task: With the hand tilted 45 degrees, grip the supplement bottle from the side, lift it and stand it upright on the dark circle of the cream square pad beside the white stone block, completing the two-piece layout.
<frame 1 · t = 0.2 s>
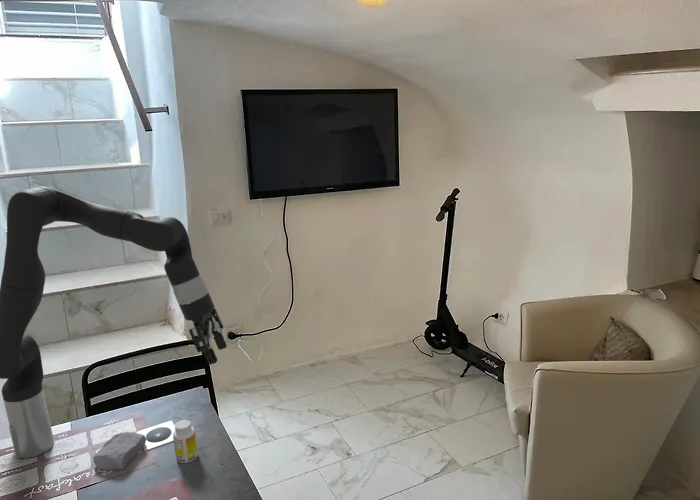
hand: (218, 355, 133), 30 cm above the table, tool tilted 20°, fingers open, 8 cm apart
cream square pad: (158, 435, 152), on the table
stone block: (119, 455, 144), on the table, touching cream square pad
supplement bottle: (187, 457, 143), on the table
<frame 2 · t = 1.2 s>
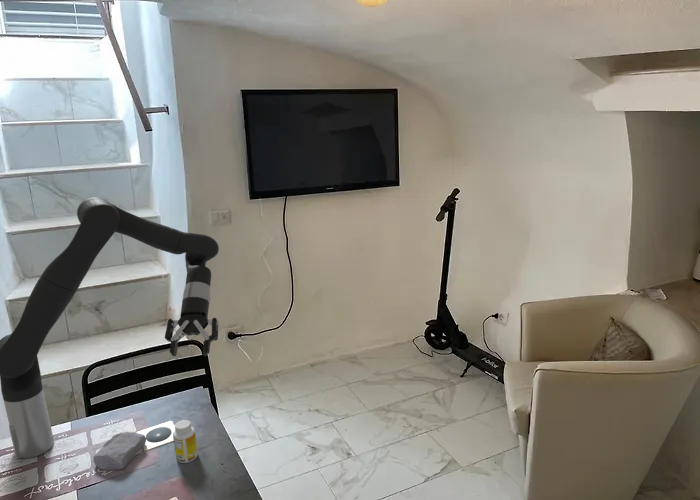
hand: (189, 355, 147), 24 cm above the table, tool tilted 45°, fingers open, 8 cm apart
nothing on the table moved.
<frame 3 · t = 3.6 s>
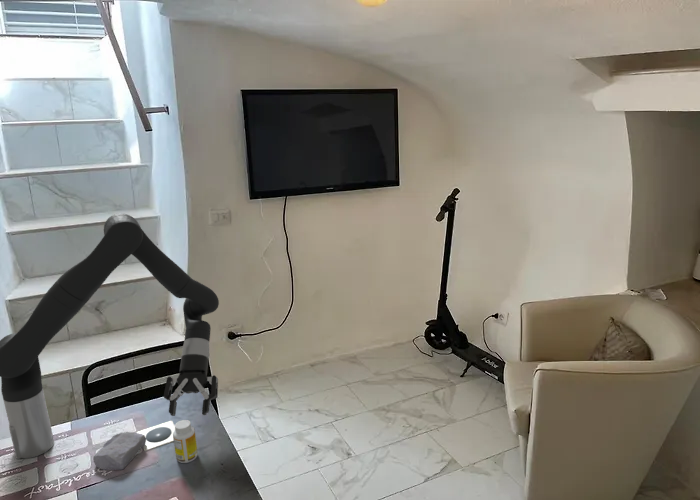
hand: (188, 415, 145), 10 cm above the table, tool tilted 45°, fingers open, 8 cm apart
nothing on the table moved.
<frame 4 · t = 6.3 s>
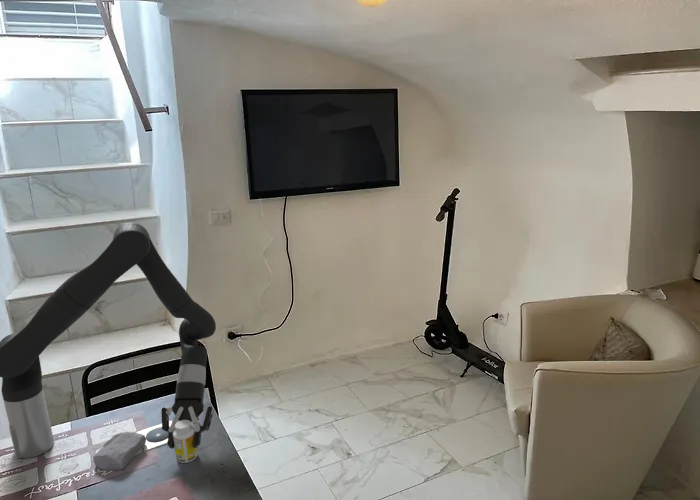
hand: (183, 447, 140), 4 cm above the table, tool tilted 45°, fingers closed on supplement bottle, 5 cm apart
supplement bottle: (187, 457, 143), on the table, touching gripper
everything else where it was.
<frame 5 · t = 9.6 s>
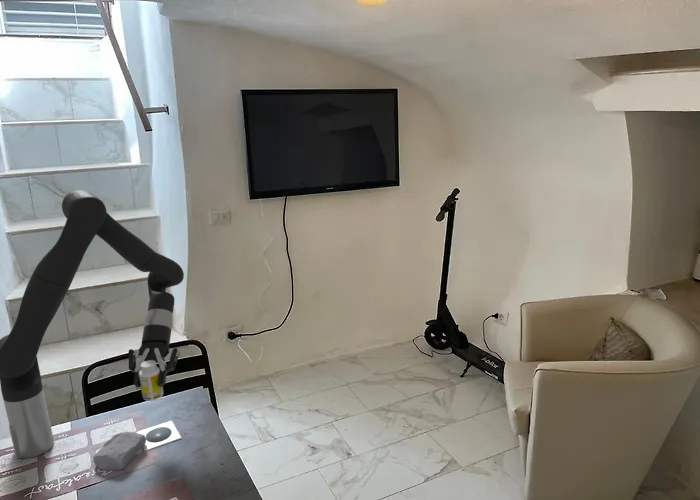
hand: (149, 386, 146), 17 cm above the table, tool tilted 45°, fingers closed on supplement bottle, 5 cm apart
supplement bottle: (153, 397, 149), point 12 cm above the table, touching gripper
everything else where it was.
when the fingers open (5 cm above the table, at t = 13.0 s): supplement bottle stays where it is, resting on cream square pad.
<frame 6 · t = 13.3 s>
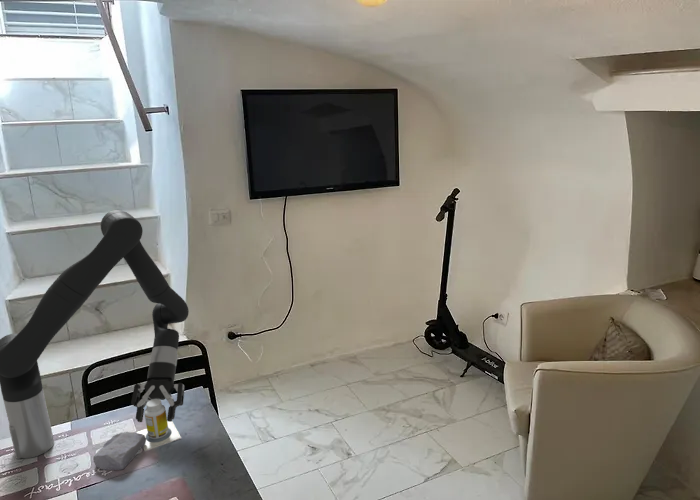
hand: (154, 421, 149), 6 cm above the table, tool tilted 45°, fingers open, 8 cm apart
supplement bottle: (158, 434, 152), resting on cream square pad
everything else where it was.
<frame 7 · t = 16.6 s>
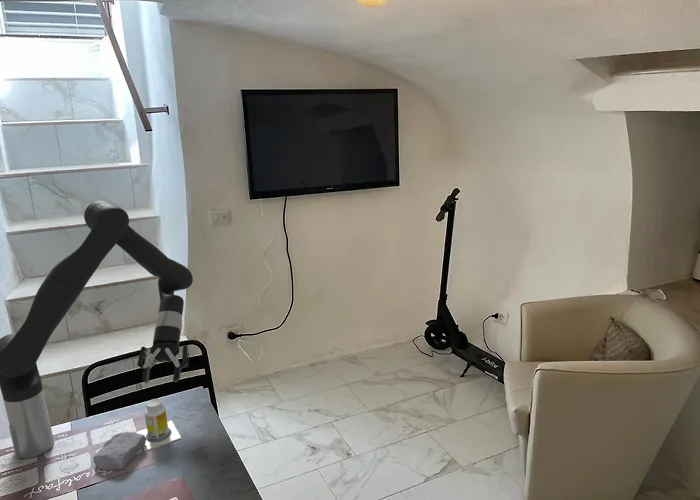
hand: (160, 381, 154), 13 cm above the table, tool tilted 45°, fingers open, 8 cm apart
nothing on the table moved.
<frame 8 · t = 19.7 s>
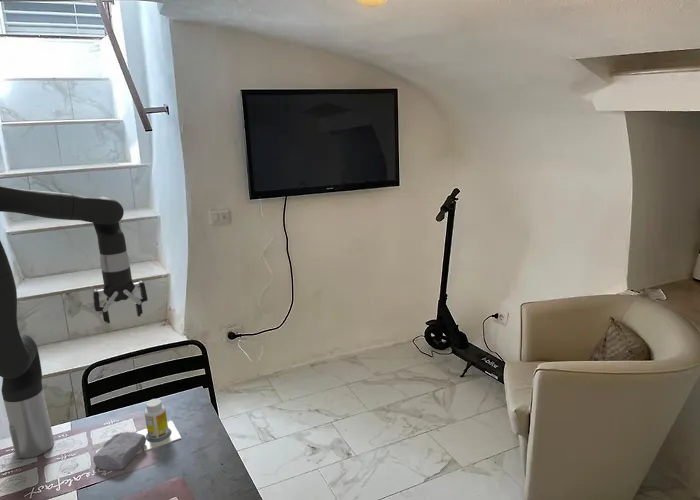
hand: (123, 319, 157), 30 cm above the table, tool pointing down, fingers open, 8 cm apart
nothing on the table moved.
at the end: supplement bottle 0.2 cm off-centre on the cream square pad, point 0.2 cm above the cream square pad's base; supplement bottle tilted 0°; the gripper is holding nothing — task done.
